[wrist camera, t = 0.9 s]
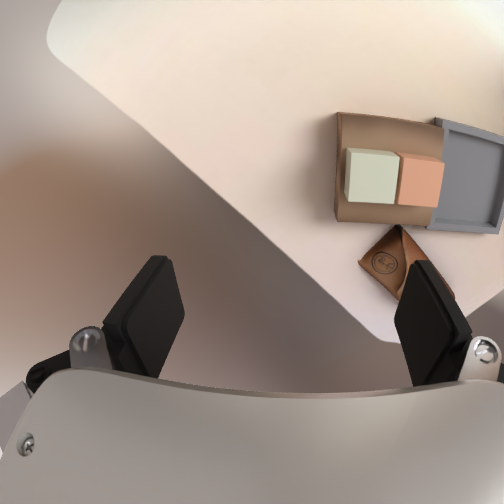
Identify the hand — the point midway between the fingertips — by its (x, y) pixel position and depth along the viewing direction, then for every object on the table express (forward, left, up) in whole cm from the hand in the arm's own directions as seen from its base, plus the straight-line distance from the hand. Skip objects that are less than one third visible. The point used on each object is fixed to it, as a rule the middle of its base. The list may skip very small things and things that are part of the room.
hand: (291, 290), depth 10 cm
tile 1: (+1, +14, -20) cm, 24 cm away
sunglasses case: (+17, +18, -24) cm, 35 cm away
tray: (+1, +24, -23) cm, 34 cm away
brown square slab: (+1, +11, -23) cm, 26 cm away
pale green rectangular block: (+1, +8, -20) cm, 22 cm away
